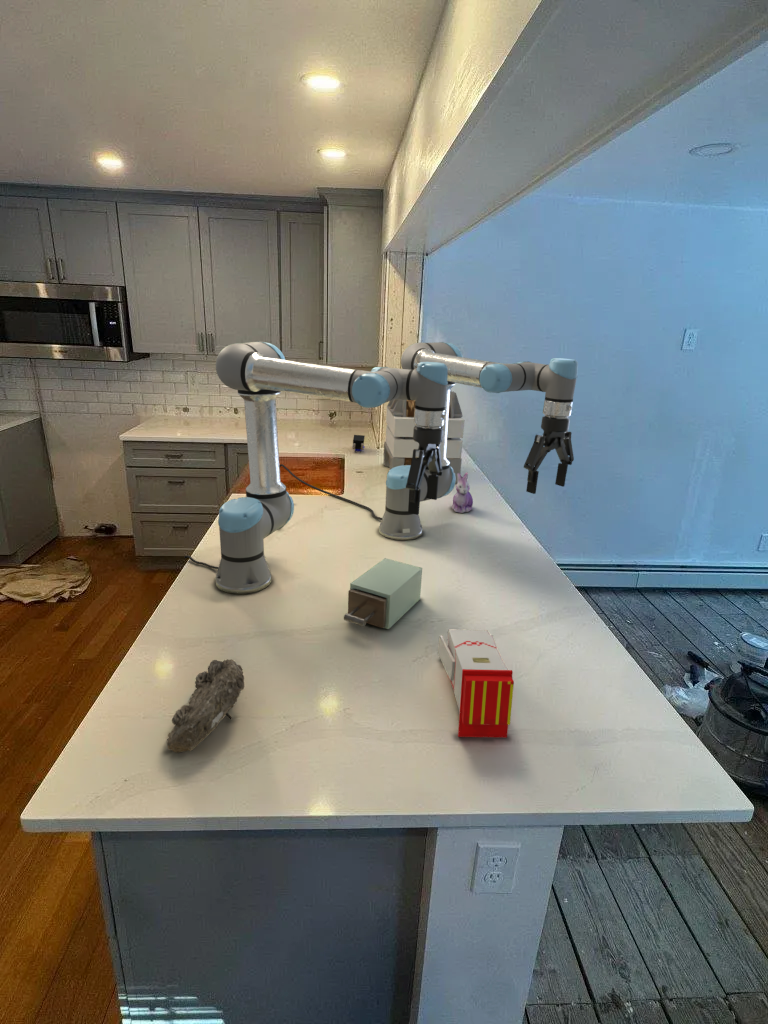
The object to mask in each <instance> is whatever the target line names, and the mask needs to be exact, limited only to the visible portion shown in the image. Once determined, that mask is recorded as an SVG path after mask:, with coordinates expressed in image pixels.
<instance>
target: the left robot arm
mask: <svg viewBox="0 0 768 1024" xmlns="http://www.w3.org/2000/svg"><path fill="white" fill-rule="evenodd" d="M215 372H216V375H217V377H218V379H219V380H220V381H221V383H222V384H223V385H224V386H226V387H227V388H229V389H232V390H234V391H237V395H239V397H240V398H242V399H243V405H244V417H245V429H246V430H245V431H246V441H247V443H246V444H247V457H248V468H249V469H248V470H249V480H250V481H249V484H248V485H247V486H246V488H245V496H243V497H238V498H232V499H229V500H228V501H226V502H224V503H223V504H221V506H220V508H219V509H218V521H217V523H218V530H219V544H220V545H219V546H220V560H219V564H218V566H215V565H210V564H209V563H207V562H202V561H197V560H196V559H194V558H193V557H192V556H191V555H189V554H187V555H185V556H184V559H189V560H190V561H191V562H192V563H194V564H196V565H201V566H205V567H207V568H210V569H214V570H216V573H215V585H216V587H217V589H219V590H220V591H222V592H224V593H228V594H233V595H234V594H235V595H245V594H252V593H256V592H260V591H262V590H264V589H266V588H267V587H269V586H270V584H271V583H272V572H271V570H270V566H269V565H268V561H267V559H266V557H265V545H264V544H265V542H264V540H265V539H266V538H267V537H269V536H271V535H272V534H274V533H275V532H276V531H278V530H280V529H282V528H283V527H285V526H286V525H287V524H288V523H289V522H290V521H291V519H292V517H293V516H294V513H295V503H294V499H293V497H292V496H290V493H289V492H288V491H287V486H286V484H284V483H283V482H282V480H281V467H280V449H279V434H278V432H279V431H278V417H277V415H278V413H277V398H278V397H279V396H280V395H281V393H282V392H283V393H289V394H296V395H302V396H310V397H317V398H323V399H329V400H334V401H335V400H336V401H343V402H350V403H354V404H358V405H359V406H360V407H362V408H366V409H370V408H372V409H373V408H377V407H381V406H382V405H383V404H385V403H389V401H391V400H394V399H401V400H411V401H412V400H414V401H415V412H414V424H415V425H416V426H415V427H414V430H413V440H414V441H415V442H418V443H419V447H418V449H414V450H413V457H412V462H411V466H410V471H409V475H408V479H407V484H406V488H407V489H409V505H408V513H411V514H416V515H418V514H419V515H420V505H421V504H420V503H421V502H420V492H421V489H419V488H420V484H421V481H422V478H423V475H424V472H425V469H426V467H428V469H429V472H430V474H432V475H428V487H427V498H428V499H430V500H434V501H437V500H438V498H437V492H438V479H439V476H442V472H441V471H442V462H441V452H440V443H441V442H442V441H443V428H442V427H441V426H443V425H444V418H446V415H445V414H444V413H445V402H446V392H447V384H448V382H447V374H448V368H447V366H446V365H445V364H443V363H438V362H420V363H419V364H418V366H417V369H415V370H409V369H402V368H397V367H388V366H375V367H373V368H372V369H371V370H361V369H354V368H347V367H340V366H331V365H325V364H318V363H317V364H316V363H309V362H303V361H294V360H286V357H285V355H284V354H283V352H282V351H281V350H280V348H279V347H277V346H276V345H274V343H270V342H266V341H259V340H257V341H248V342H238V343H237V342H236V343H231V344H229V345H227V346H225V347H223V348H222V349H221V350H220V352H219V353H218V355H217V356H216V359H215ZM438 466H439V467H438ZM413 484H414V485H413Z"/></svg>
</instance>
